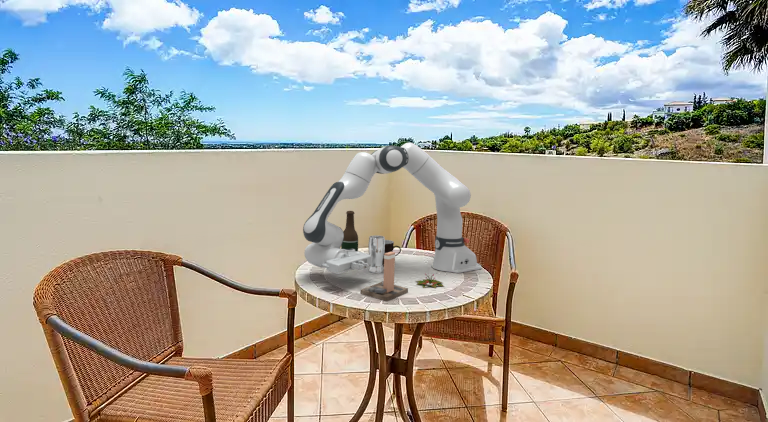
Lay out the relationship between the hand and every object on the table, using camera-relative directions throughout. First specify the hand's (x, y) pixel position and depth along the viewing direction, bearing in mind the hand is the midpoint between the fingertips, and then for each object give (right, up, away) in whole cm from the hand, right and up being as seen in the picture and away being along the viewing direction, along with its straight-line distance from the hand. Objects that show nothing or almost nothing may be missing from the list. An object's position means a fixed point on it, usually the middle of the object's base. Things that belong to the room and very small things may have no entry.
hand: (365, 266), depth 168 cm
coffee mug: (+8, -4, +39) cm, 40 cm away
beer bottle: (-9, -3, +37) cm, 38 cm away
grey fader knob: (+8, -7, +2) cm, 10 cm away
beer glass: (+3, -5, +26) cm, 27 cm away
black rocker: (+6, -8, -8) cm, 12 cm away
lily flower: (+25, -9, +11) cm, 28 cm away
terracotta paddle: (+8, -8, -5) cm, 13 cm away
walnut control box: (+7, -9, -2) cm, 12 cm away
